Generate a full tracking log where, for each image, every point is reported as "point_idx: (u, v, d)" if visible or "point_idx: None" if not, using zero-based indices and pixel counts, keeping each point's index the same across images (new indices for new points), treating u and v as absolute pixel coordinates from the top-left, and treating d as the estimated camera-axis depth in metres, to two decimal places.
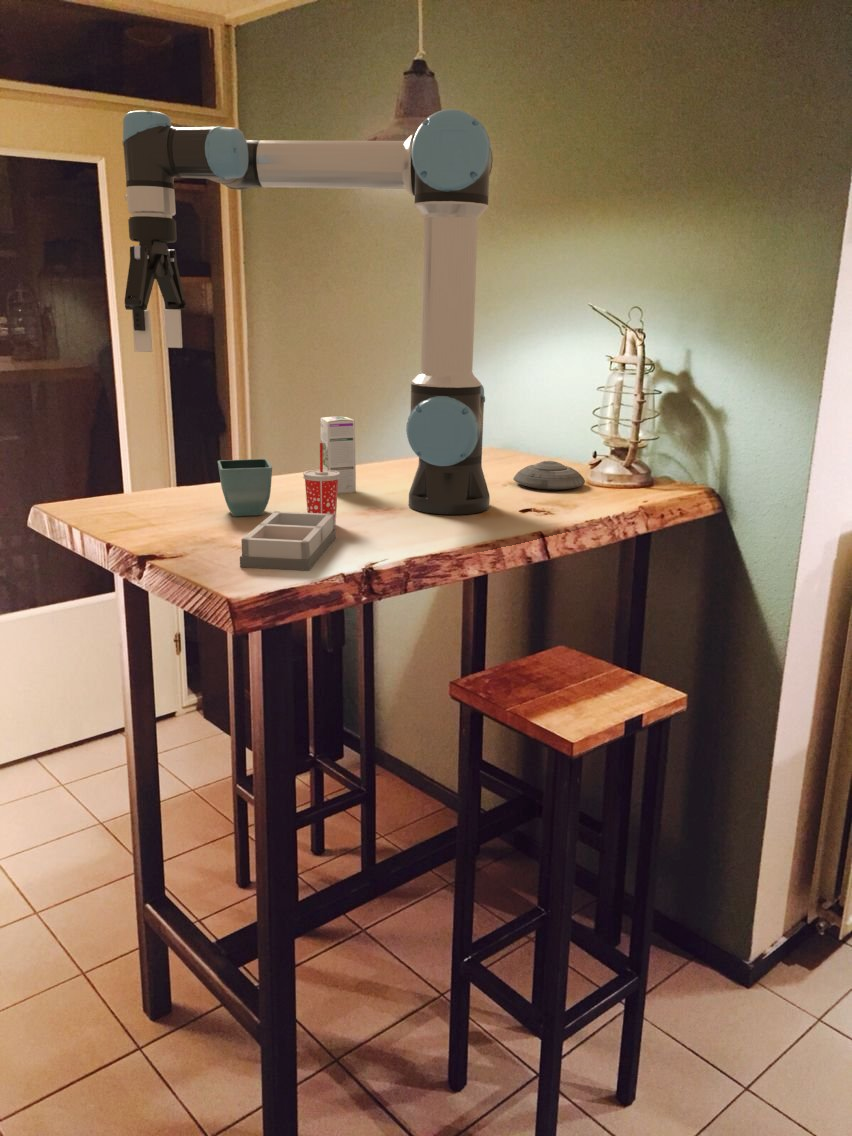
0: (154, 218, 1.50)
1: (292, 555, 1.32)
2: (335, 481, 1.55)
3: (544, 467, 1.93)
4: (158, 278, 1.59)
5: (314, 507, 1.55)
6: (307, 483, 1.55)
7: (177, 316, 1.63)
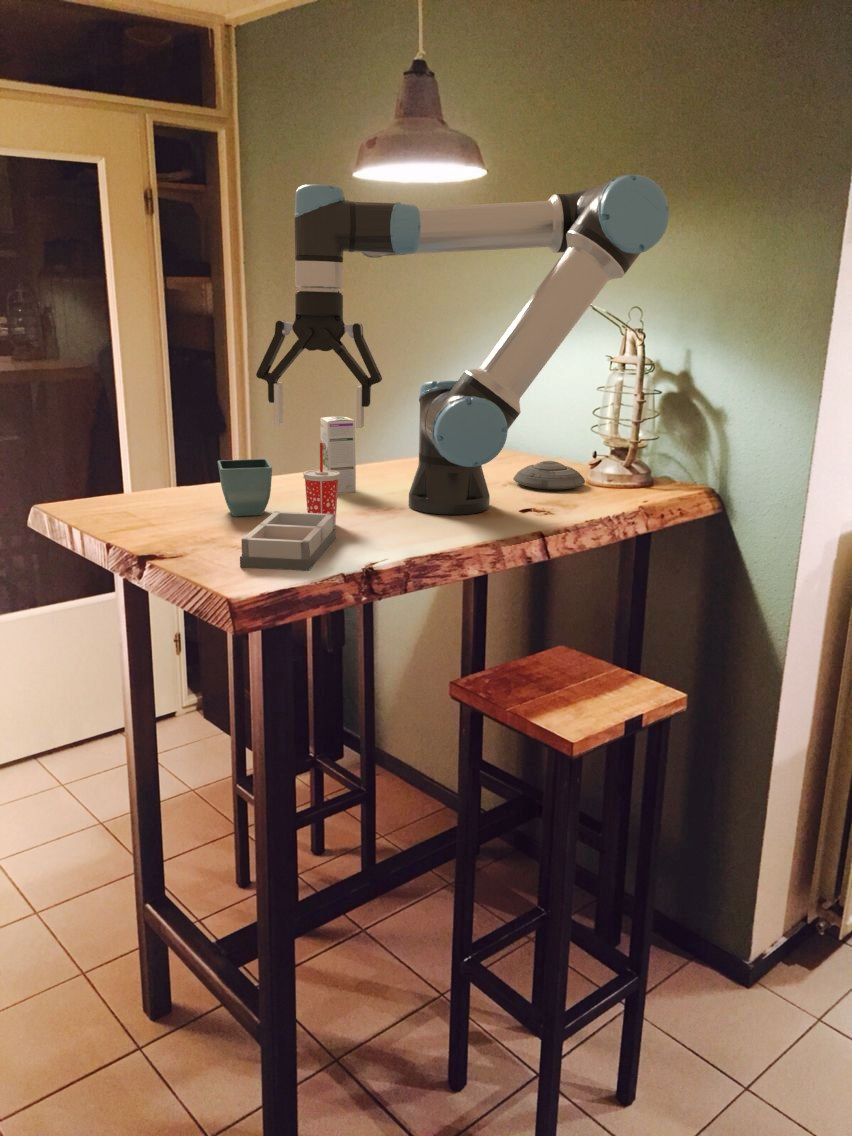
0: None
1: (292, 555, 1.32)
2: (335, 481, 1.55)
3: (544, 467, 1.93)
4: None
5: (314, 507, 1.55)
6: (307, 483, 1.55)
7: (357, 394, 1.51)
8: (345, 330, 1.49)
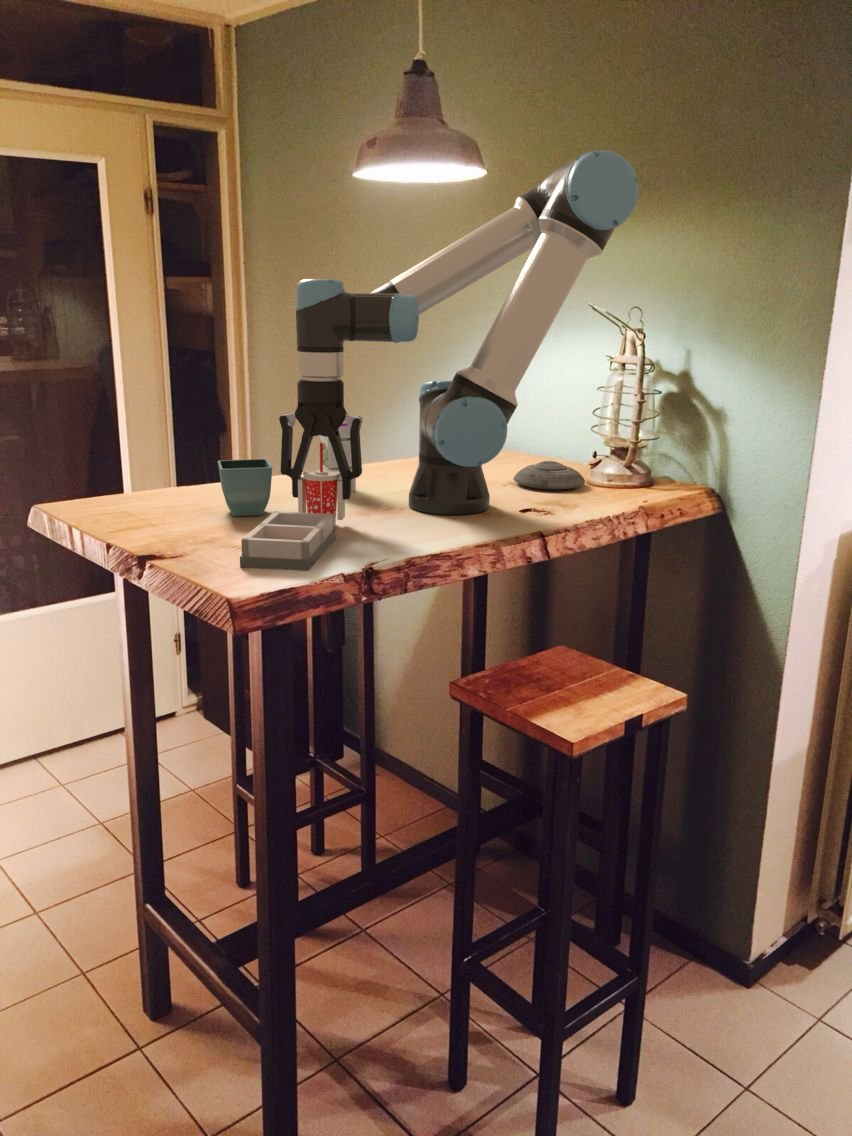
0: (298, 381, 1.50)
1: (292, 555, 1.32)
2: (335, 481, 1.55)
3: (544, 467, 1.93)
4: None
5: (314, 507, 1.55)
6: (307, 483, 1.55)
7: None
8: (345, 419, 1.53)
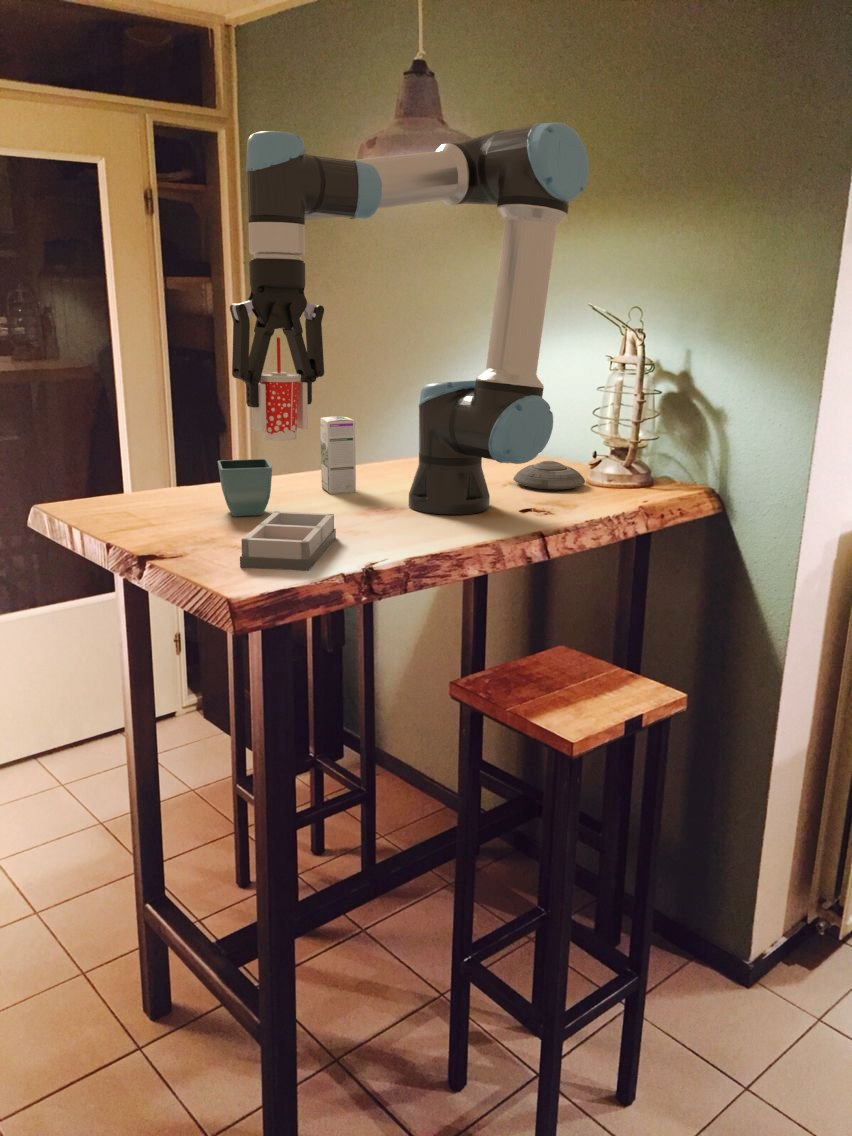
0: (262, 260, 1.23)
1: (292, 555, 1.32)
2: None
3: (544, 467, 1.93)
4: (287, 334, 1.31)
5: (284, 415, 1.30)
6: (273, 387, 1.29)
7: (301, 390, 1.32)
8: (306, 308, 1.30)
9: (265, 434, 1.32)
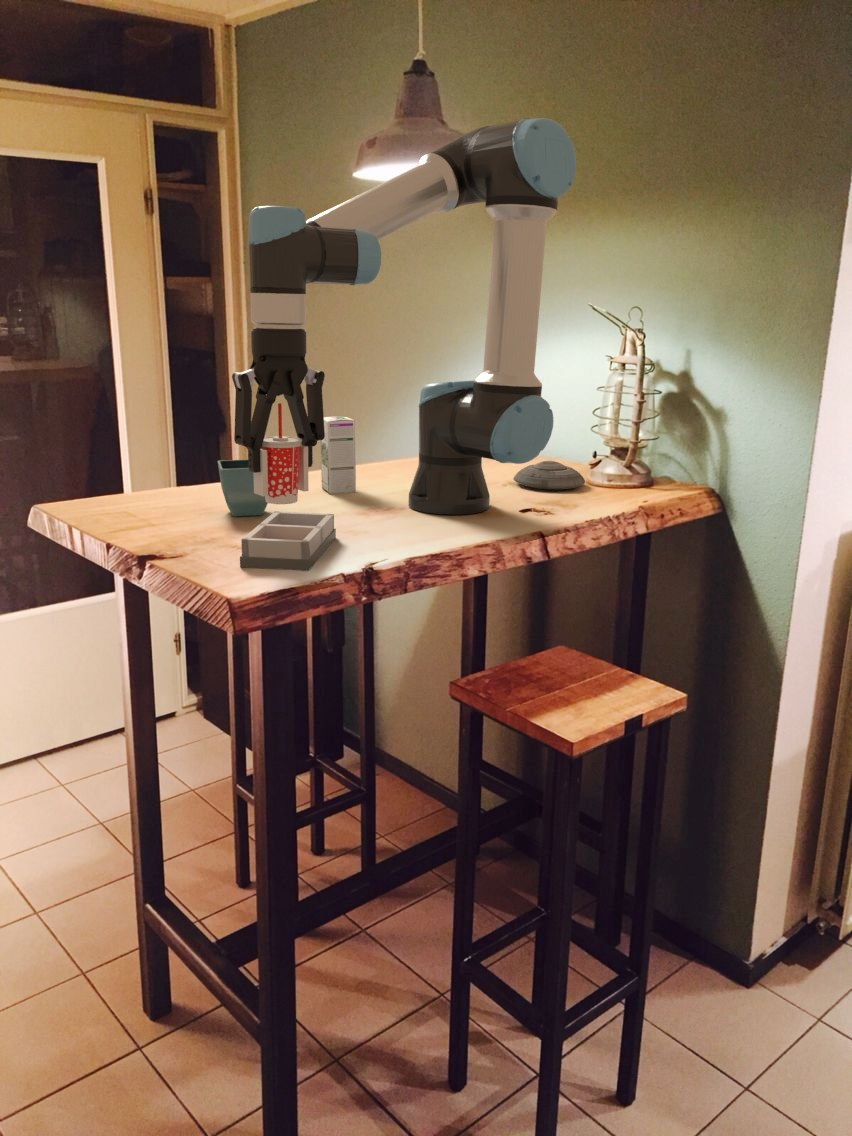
0: (264, 331, 1.25)
1: (292, 555, 1.32)
2: None
3: (544, 467, 1.93)
4: (288, 400, 1.33)
5: (285, 479, 1.32)
6: (274, 452, 1.31)
7: (302, 454, 1.34)
8: (306, 374, 1.32)
9: (267, 497, 1.34)
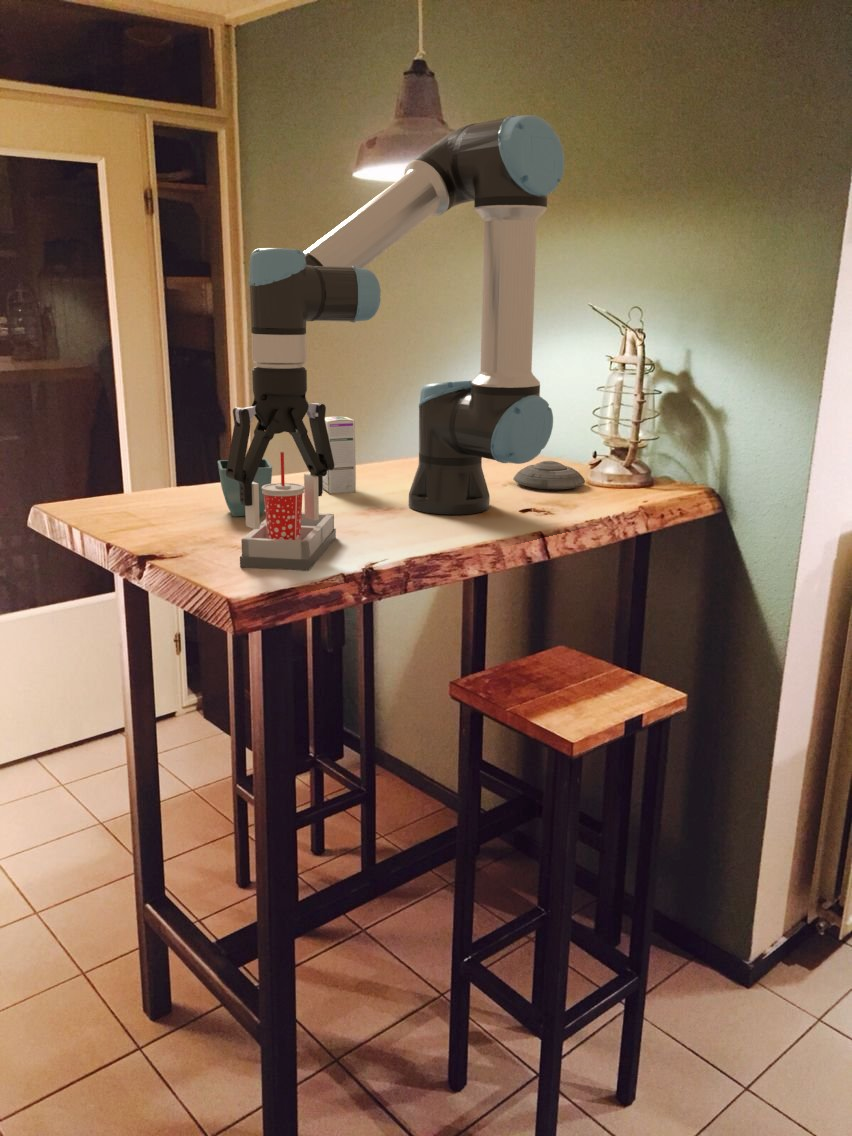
0: (265, 370, 1.27)
1: (292, 555, 1.32)
2: None
3: (544, 467, 1.93)
4: (293, 435, 1.35)
5: (288, 526, 1.34)
6: (278, 500, 1.33)
7: (312, 484, 1.37)
8: (308, 409, 1.34)
9: None
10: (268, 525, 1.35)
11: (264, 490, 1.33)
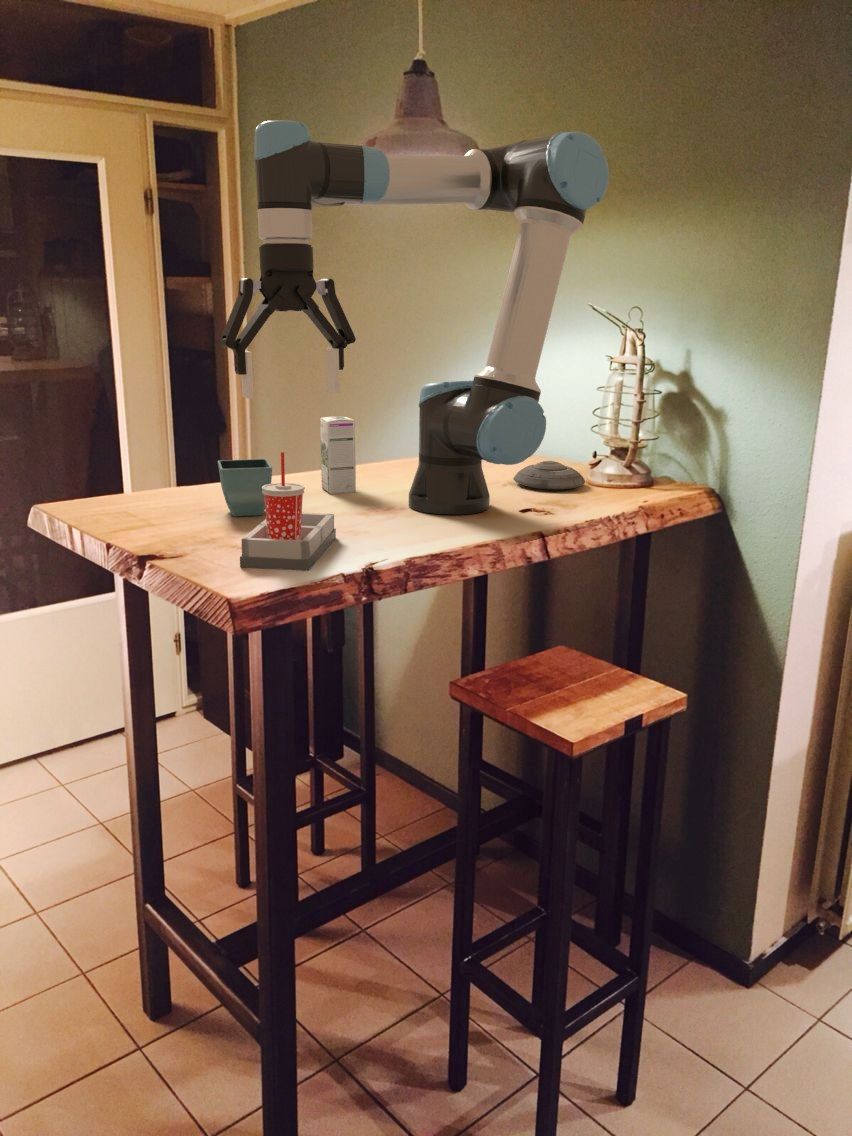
0: (269, 245, 1.29)
1: (292, 555, 1.32)
2: None
3: (544, 467, 1.93)
4: (306, 313, 1.37)
5: (288, 527, 1.34)
6: (278, 500, 1.33)
7: (333, 356, 1.39)
8: (316, 287, 1.35)
9: None
10: (268, 525, 1.35)
11: (264, 490, 1.33)
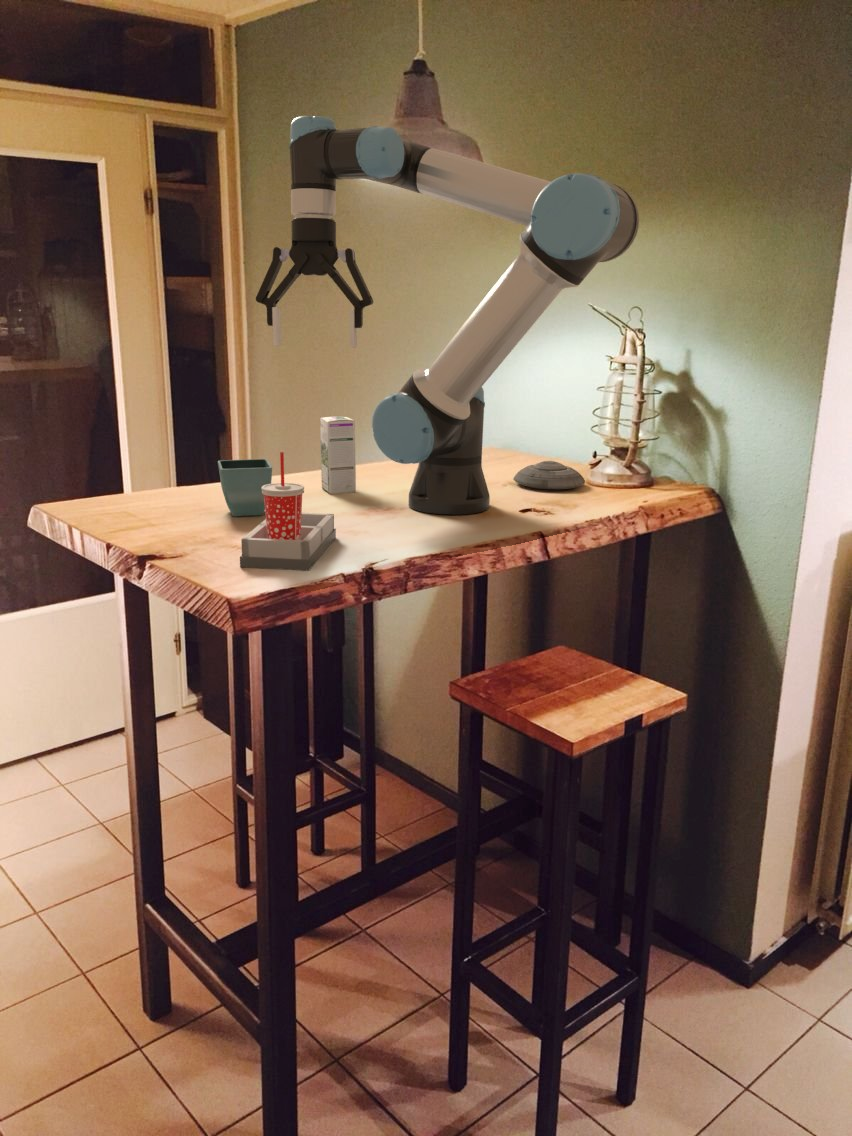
0: None
1: (292, 555, 1.32)
2: None
3: (544, 467, 1.93)
4: None
5: (288, 526, 1.34)
6: (278, 500, 1.33)
7: (350, 316, 1.61)
8: (338, 255, 1.59)
9: None
10: (268, 525, 1.35)
11: (264, 490, 1.33)
